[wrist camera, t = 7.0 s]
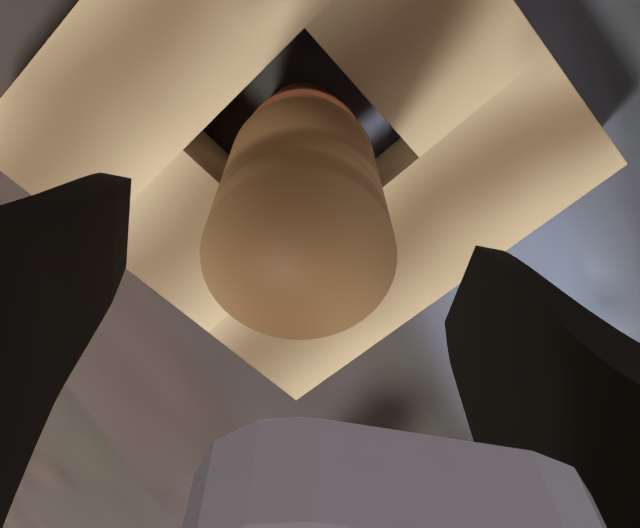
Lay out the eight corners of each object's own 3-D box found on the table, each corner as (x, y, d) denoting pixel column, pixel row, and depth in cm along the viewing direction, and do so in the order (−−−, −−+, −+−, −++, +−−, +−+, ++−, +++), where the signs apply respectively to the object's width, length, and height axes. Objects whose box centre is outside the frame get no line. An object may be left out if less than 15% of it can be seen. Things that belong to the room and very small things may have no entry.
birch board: (593, 137, 20) (627, 164, 18) (297, 357, 25) (296, 400, 23) (311, -260, 15) (311, -291, 12) (3, 118, 19) (-35, 143, 17)
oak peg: (374, 72, 19) (418, 185, 11) (352, 186, 21) (375, 349, 13) (250, 53, 18) (205, 155, 11) (239, 171, 20) (195, 328, 13)
